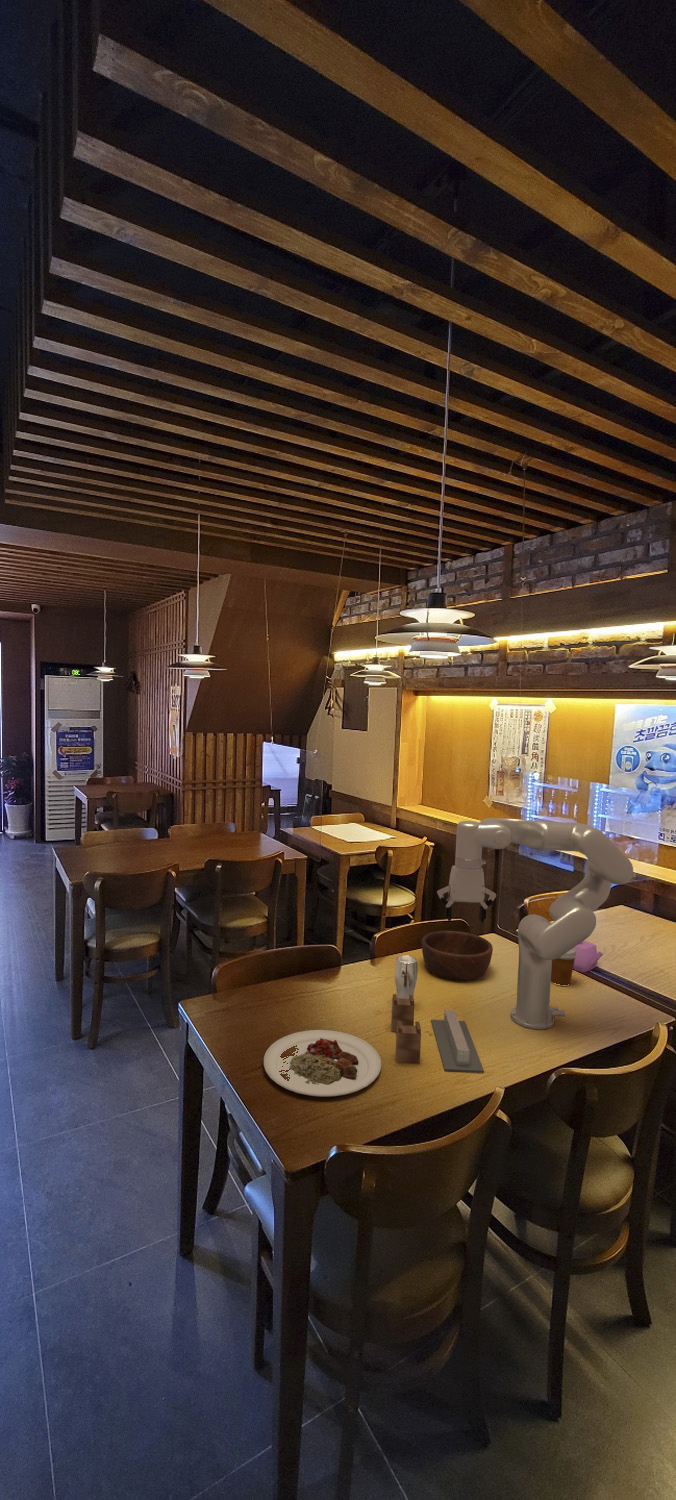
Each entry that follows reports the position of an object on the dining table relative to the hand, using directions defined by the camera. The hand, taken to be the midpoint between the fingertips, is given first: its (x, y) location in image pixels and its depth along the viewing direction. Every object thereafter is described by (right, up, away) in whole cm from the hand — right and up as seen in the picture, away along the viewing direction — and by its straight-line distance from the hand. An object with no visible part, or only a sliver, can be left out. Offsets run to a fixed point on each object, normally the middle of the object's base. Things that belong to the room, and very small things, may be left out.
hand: (465, 920), depth 187 cm
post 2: (-19, -31, -21) cm, 42 cm away
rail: (-5, -30, -13) cm, 34 cm away
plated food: (-42, -31, -25) cm, 58 cm away
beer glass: (-17, -29, +9) cm, 35 cm away
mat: (-5, -31, -13) cm, 34 cm away
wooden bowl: (+4, -29, +39) cm, 48 cm away
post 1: (-19, -30, -5) cm, 36 cm away
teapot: (+51, -30, +47) cm, 76 cm away
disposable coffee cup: (+39, -30, +31) cm, 59 cm away
